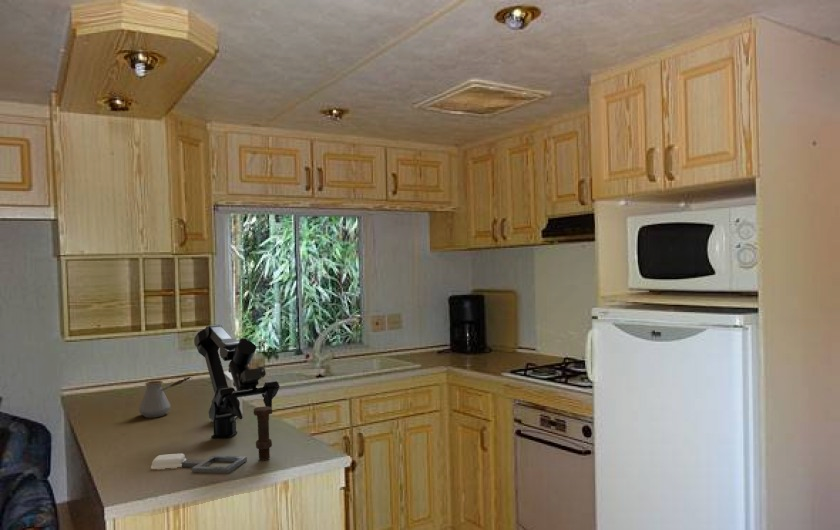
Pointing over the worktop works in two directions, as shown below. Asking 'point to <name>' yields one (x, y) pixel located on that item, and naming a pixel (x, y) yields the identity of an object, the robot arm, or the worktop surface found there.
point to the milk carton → (230, 384)
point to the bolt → (263, 431)
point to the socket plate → (201, 467)
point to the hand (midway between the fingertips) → (256, 415)
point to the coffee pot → (156, 399)
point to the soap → (168, 461)
